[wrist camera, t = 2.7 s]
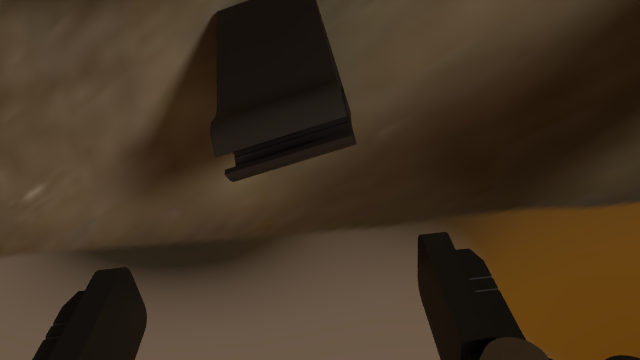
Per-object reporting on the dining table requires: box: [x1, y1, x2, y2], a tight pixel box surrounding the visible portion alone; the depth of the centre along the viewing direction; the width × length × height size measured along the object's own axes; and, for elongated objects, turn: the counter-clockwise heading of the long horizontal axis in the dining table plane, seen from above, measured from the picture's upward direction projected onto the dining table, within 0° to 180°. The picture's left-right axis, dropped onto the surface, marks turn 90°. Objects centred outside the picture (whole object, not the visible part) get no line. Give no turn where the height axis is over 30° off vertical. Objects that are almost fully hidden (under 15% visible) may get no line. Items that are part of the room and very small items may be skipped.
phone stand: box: [210, 0, 356, 182], centre depth 25 cm, size 9×6×12 cm, turn 17°
